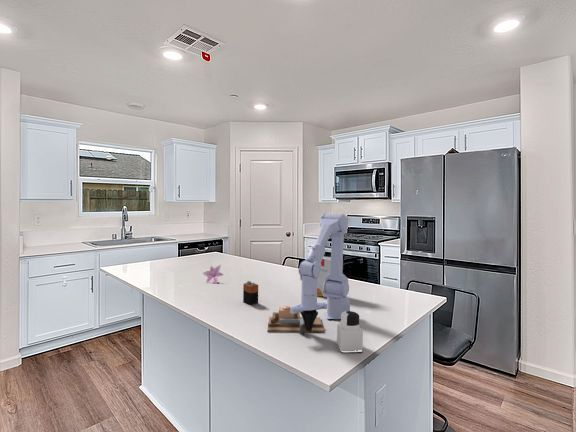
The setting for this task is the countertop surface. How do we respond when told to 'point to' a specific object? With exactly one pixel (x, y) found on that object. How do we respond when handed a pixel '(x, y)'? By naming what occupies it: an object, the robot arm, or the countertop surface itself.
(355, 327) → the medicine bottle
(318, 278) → the hard drive box
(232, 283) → the countertop surface
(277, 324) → the housing
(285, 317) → the block with dome
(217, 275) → the lily
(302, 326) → the gate
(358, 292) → the countertop surface
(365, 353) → the countertop surface
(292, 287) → the countertop surface
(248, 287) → the battery
